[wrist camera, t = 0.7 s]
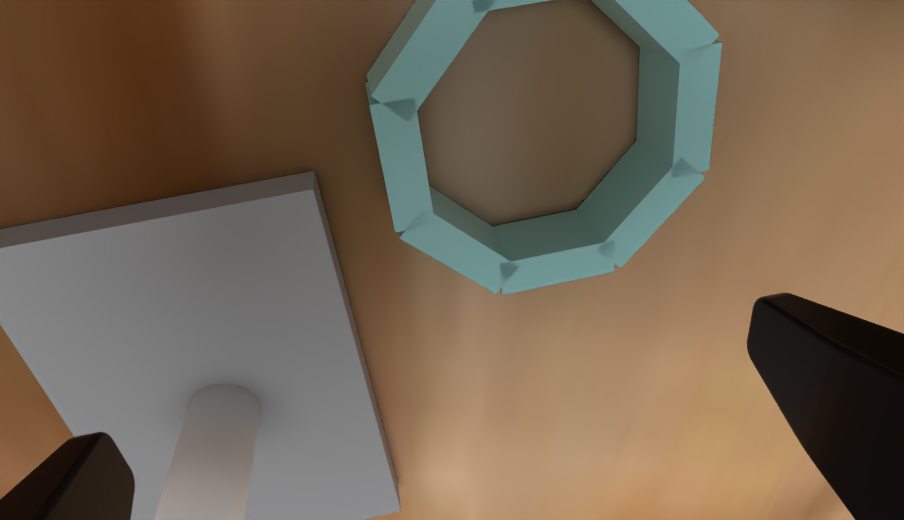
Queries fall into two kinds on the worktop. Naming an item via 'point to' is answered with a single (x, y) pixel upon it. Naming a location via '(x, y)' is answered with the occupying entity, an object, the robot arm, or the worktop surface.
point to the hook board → (206, 351)
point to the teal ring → (612, 201)
